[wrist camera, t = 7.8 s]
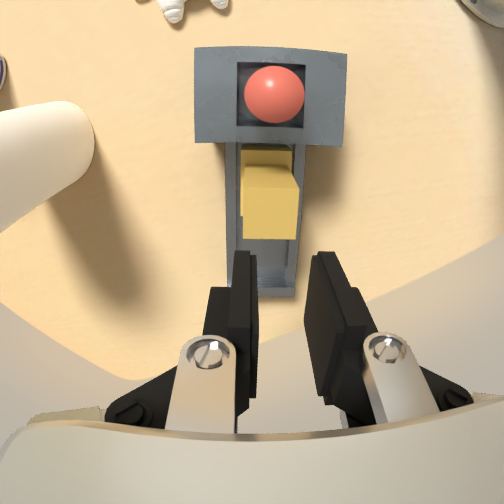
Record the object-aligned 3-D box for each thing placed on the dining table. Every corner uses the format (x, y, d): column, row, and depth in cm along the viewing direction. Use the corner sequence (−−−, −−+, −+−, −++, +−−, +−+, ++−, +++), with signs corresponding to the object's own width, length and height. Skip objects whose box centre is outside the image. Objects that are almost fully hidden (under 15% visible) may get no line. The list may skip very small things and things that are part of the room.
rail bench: (322, 63, 22) (347, 54, 16) (306, 278, 31) (318, 325, 25) (209, 59, 22) (194, 47, 16) (213, 278, 31) (205, 325, 25)
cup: (106, 167, 26) (-10, 251, 12) (44, 196, 27) (-65, 280, 13) (79, 86, 22) (-60, 105, 8) (18, 124, 23) (-107, 172, 9)
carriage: (288, 146, 24) (306, 171, 16) (285, 207, 26) (299, 254, 19) (241, 145, 24) (237, 169, 16) (241, 206, 26) (237, 254, 19)
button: (293, 73, 18) (305, 67, 14) (291, 117, 19) (303, 124, 15) (245, 72, 18) (244, 65, 14) (245, 116, 19) (243, 122, 15)
